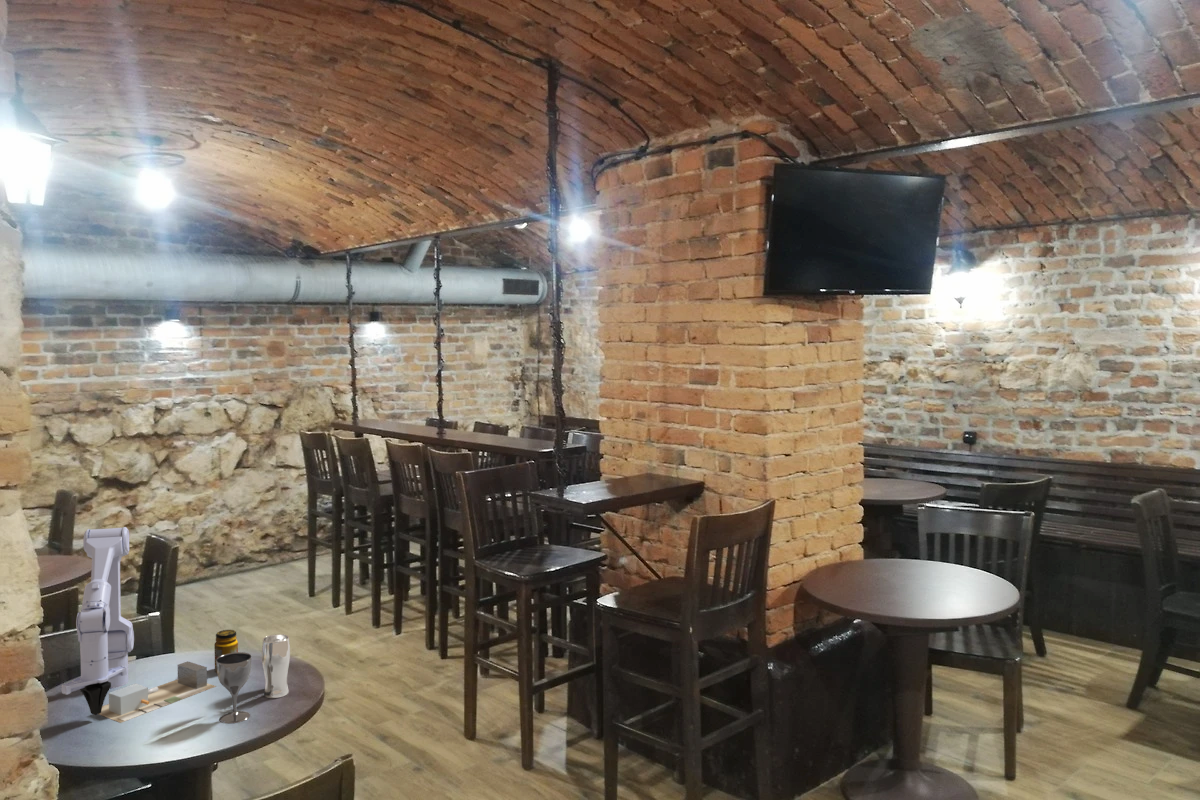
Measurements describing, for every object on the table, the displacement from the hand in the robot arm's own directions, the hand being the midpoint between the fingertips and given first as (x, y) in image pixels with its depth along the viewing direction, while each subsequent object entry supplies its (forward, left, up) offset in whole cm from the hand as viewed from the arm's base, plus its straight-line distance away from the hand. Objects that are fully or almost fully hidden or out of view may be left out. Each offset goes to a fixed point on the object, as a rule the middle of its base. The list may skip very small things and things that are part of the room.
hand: (95, 713), depth 209 cm
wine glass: (+25, +20, -3) cm, 32 cm away
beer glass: (+22, +35, -3) cm, 41 cm away
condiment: (-1, +36, -3) cm, 36 cm away
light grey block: (+1, +10, -2) cm, 10 cm away
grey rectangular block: (0, +26, -2) cm, 26 cm away
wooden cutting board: (0, +15, -3) cm, 15 cm away
